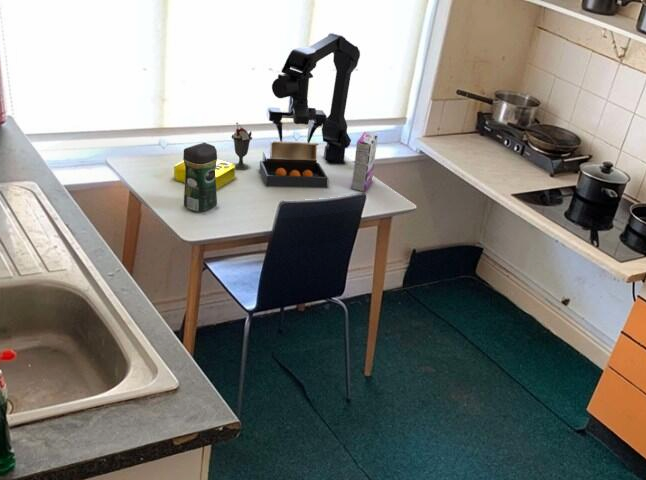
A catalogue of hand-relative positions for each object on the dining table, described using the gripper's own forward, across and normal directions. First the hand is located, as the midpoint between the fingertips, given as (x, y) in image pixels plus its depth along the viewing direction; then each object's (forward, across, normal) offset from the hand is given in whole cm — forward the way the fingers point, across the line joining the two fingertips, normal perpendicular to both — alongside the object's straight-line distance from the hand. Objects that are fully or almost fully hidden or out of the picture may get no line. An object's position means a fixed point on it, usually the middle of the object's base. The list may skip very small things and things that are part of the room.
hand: (294, 142), depth 249 cm
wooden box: (+4, 0, +2) cm, 4 cm away
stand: (+12, 0, +5) cm, 13 cm away
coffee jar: (+12, -33, -26) cm, 44 cm away
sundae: (+12, -16, +7) cm, 21 cm away
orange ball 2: (+10, 0, -4) cm, 11 cm away
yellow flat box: (+12, -29, -4) cm, 32 cm away
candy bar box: (+12, +23, -6) cm, 27 cm away
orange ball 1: (+10, -4, -3) cm, 11 cm away
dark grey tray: (+12, 0, -2) cm, 12 cm away
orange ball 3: (+10, +4, -4) cm, 11 cm away
